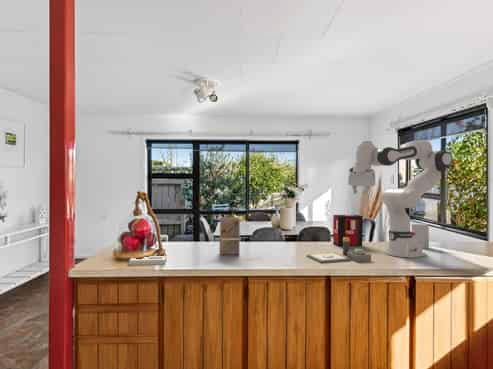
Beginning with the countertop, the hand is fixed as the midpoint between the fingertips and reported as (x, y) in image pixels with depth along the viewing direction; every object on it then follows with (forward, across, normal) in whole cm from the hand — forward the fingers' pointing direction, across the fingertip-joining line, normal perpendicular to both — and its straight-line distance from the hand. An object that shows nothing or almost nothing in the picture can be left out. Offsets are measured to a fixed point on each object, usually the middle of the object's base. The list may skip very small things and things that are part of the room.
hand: (360, 193), depth 196 cm
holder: (+49, +39, +107) cm, 124 cm away
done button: (+34, -6, +1) cm, 34 cm away
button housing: (+36, -6, 0) cm, 37 cm away
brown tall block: (+44, +27, +65) cm, 83 cm away
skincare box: (+30, +12, -59) cm, 67 cm away
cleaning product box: (+34, +32, -18) cm, 51 cm away
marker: (+36, +6, 0) cm, 37 cm away
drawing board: (+38, +2, +15) cm, 41 cm away
